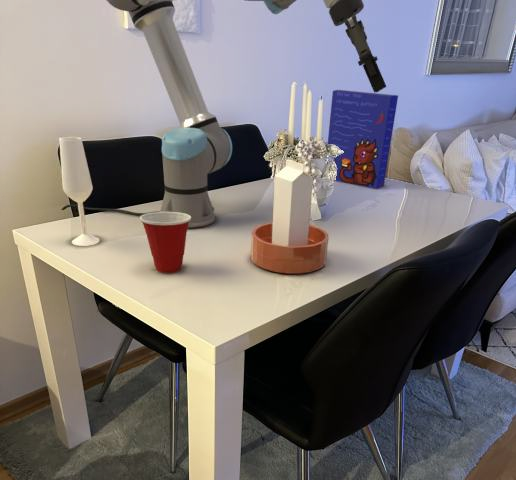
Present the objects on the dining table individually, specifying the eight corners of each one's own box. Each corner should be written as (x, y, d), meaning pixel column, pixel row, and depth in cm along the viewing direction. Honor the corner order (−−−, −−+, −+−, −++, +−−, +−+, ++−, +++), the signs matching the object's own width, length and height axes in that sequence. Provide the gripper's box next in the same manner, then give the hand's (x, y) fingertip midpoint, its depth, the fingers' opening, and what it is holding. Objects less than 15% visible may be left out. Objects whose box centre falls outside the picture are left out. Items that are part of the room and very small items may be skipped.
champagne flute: (97, 235, 129) (83, 135, 117) (102, 243, 124) (88, 140, 112) (70, 238, 127) (52, 136, 114) (73, 247, 122) (56, 141, 109)
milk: (286, 265, 116) (293, 166, 104) (270, 257, 120) (274, 160, 108) (306, 260, 119) (314, 162, 107) (290, 251, 123) (296, 157, 111)
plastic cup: (194, 259, 118) (193, 208, 112) (191, 278, 109) (189, 223, 102) (148, 258, 117) (143, 207, 111) (140, 277, 108) (135, 222, 102)
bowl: (258, 276, 110) (259, 248, 107) (246, 248, 125) (246, 222, 122) (335, 273, 113) (338, 246, 110) (314, 245, 128) (316, 220, 125)
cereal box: (383, 185, 184) (398, 94, 168) (376, 188, 180) (390, 95, 164) (332, 175, 195) (341, 89, 179) (324, 178, 191) (332, 90, 175)
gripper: (353, -21, 104) (395, 79, 110) (360, -2, 125) (395, 81, 131) (320, 2, 107) (363, 98, 113) (333, 17, 128) (368, 97, 134)
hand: (380, 89), depth 122 cm, fingers open, 13 cm apart
